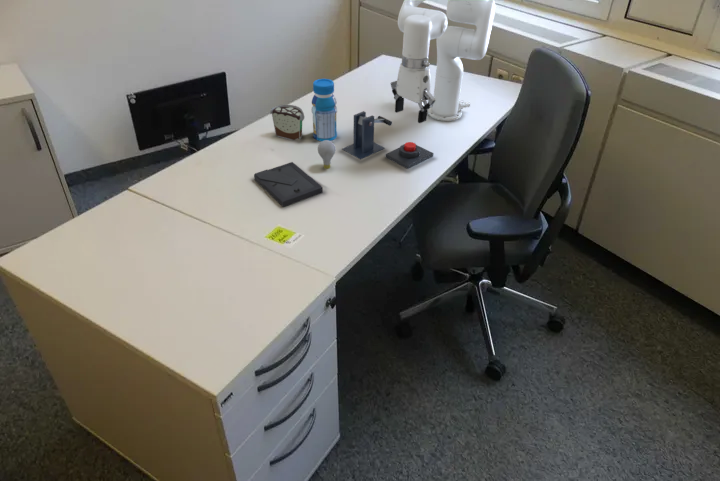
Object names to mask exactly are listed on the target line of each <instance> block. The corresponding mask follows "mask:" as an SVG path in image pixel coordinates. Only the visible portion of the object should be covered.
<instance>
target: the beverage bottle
mask: <svg viewBox="0 0 720 481" xmlns="http://www.w3.org/2000/svg"><path fill="white" fill-rule="evenodd" d="M312 89H313V94H314V95H313V97H312V99H311V105H312V107H311V115H312V131H313V133H312V138H313V139H314V140H316V141H319V142H322V141H324V140H329V141H331V142H332V141H334V140H336V139H337V137H338V132H337V131H338V130H337V113H338V107H337V98H336V97H335V94H334V93H335V82H334V81H333V80H332V79H330V78H319V79H318V78H317V79H315V80H314V81H313V82H312Z"/></svg>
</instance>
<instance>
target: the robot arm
mask: <svg viewBox="0 0 720 481" xmlns="http://www.w3.org/2000/svg"><path fill="white" fill-rule="evenodd" d="M425 1H426V0H403V2H402V5H401V7H400V9H399V12H398V16H397V27H398V29H399V31H400V32H401V33H403V39H402V50H401V51H402V54H401V63H400V65H399V69H398V73H397V78H396V80H394V81H391V82H390V87H391V92H392V94H393V99H394V101H395V102H394V103H395V105H394V113H397V114H398V113H400V112H403V111H404V106H405V100H408V101H410V102H412V103H415V104H417V105H418V107H419V109H420V110H418V116H417V123H418V124H422V123H425V122H426V121H427V118H428V116H429V117H430V118H432V119H434V120H437V121H442V122H452V121H456V120H459V119H460V118H461V117H462V115H463V111H462V110H463V109H466V108H467V109H468V108H470V107H471V103H470V101H467V102H465V101H464V100H460V99H461V90H462V84H463V83H462V82H463V76H464V65H463V62H462V60H461V59H467V60H473V61H480V60H481V61H482V59H483V58H485V56H486V55H487V51H488V46H489V44H490V37H491V32H492V29H493V23H494V19H495V12H496V2H495V0H447V4H446V11H445V12H446V13H445V12H443V11H441V10H438V9H431V8H424V7H419V5H420V4H423V3H424V2H425ZM448 20H449V21H451V22H455V23H460V24H466V25H473V26H475V27H476V28H475V29H474V28H468V27H464V26H463V27H462V26H455V25H448V24H449V21H448ZM435 39H436V40H435ZM432 40H435V41H436V43H435V44H436V68H435V78H434V88H433V94H432V93H431V82H432V81H431V69H430V65H431V63H430V61H429V54H430V44H431V41H432Z"/></svg>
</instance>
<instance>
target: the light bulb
mask: <svg viewBox="0 0 720 481" xmlns="http://www.w3.org/2000/svg"><path fill="white" fill-rule="evenodd" d="M336 150H337V149H336V145H335V143H334V142H332V140H331V141H329V140H324V141H320V142H319V143H318V146H317V153H318V155H319V156H320V158H321V159H322V163H323V168H324V169H325V170H328V169H330V168H331V164H332V162H331V161H332V160H333V157H334V155H335V154H336Z"/></svg>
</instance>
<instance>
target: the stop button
mask: <svg viewBox="0 0 720 481" xmlns="http://www.w3.org/2000/svg"><path fill="white" fill-rule="evenodd" d="M404 144H405V146H404V150H405V151H408V152H414V151H415V150H416V145H417V144H416V142H413V141H407V142H405V143H404Z"/></svg>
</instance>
